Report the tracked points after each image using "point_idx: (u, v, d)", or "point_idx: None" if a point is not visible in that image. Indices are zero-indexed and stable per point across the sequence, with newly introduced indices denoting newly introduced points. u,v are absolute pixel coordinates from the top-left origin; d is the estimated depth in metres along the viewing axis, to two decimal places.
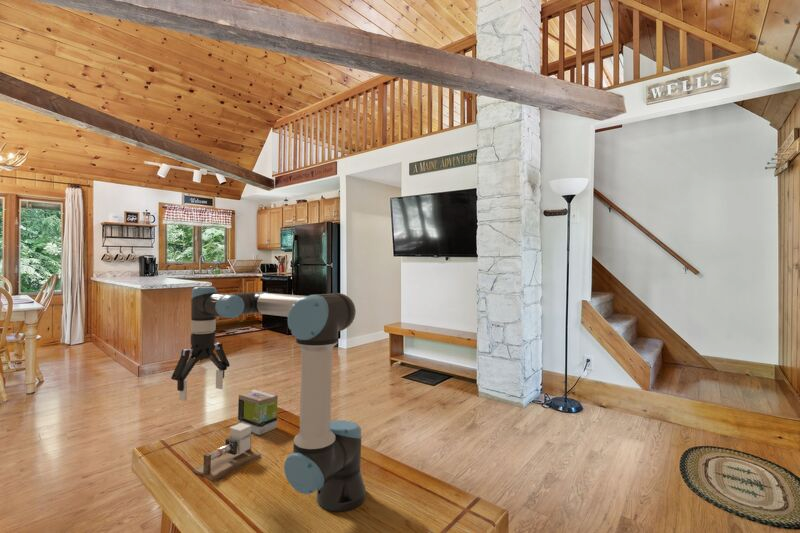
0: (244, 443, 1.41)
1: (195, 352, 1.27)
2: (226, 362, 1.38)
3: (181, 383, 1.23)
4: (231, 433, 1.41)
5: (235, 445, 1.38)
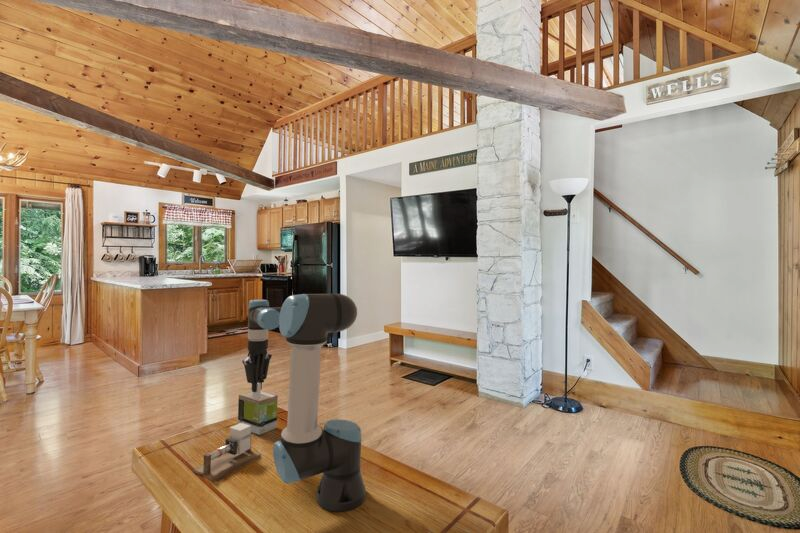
0: (244, 443, 1.41)
1: (253, 357, 1.46)
2: (265, 374, 1.52)
3: (255, 385, 1.48)
4: (231, 433, 1.41)
5: (235, 445, 1.38)
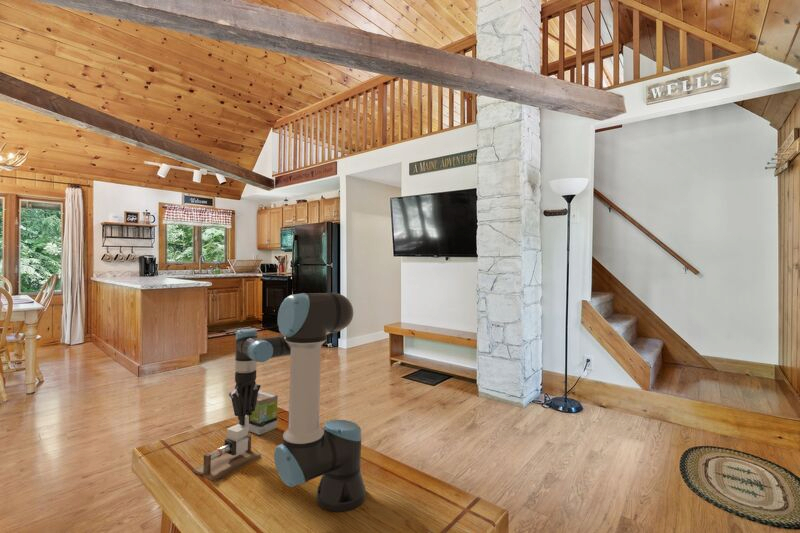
0: (241, 444, 1.40)
1: (240, 390, 1.41)
2: (253, 406, 1.47)
3: (242, 419, 1.43)
4: (228, 434, 1.40)
5: (234, 445, 1.38)
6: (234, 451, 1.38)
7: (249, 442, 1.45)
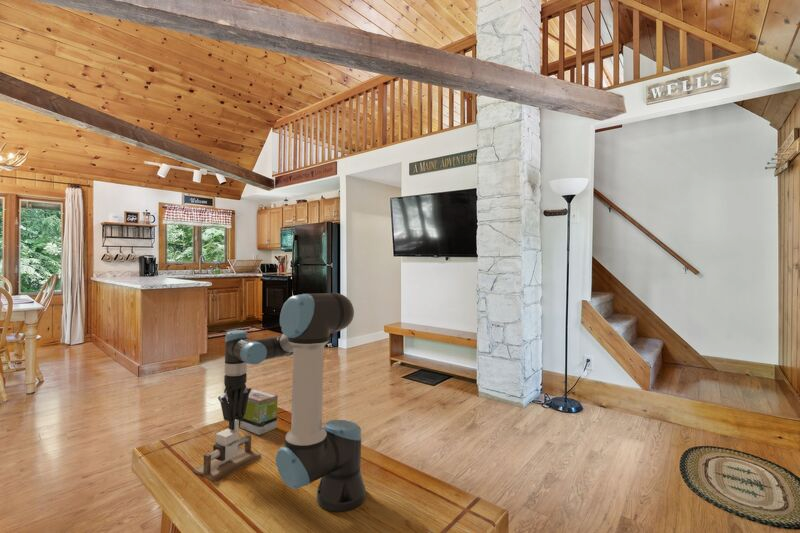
0: (230, 450, 1.36)
1: (230, 393, 1.37)
2: (244, 409, 1.43)
3: (232, 423, 1.39)
4: (217, 439, 1.36)
5: (223, 451, 1.33)
6: (223, 457, 1.34)
7: (249, 442, 1.45)
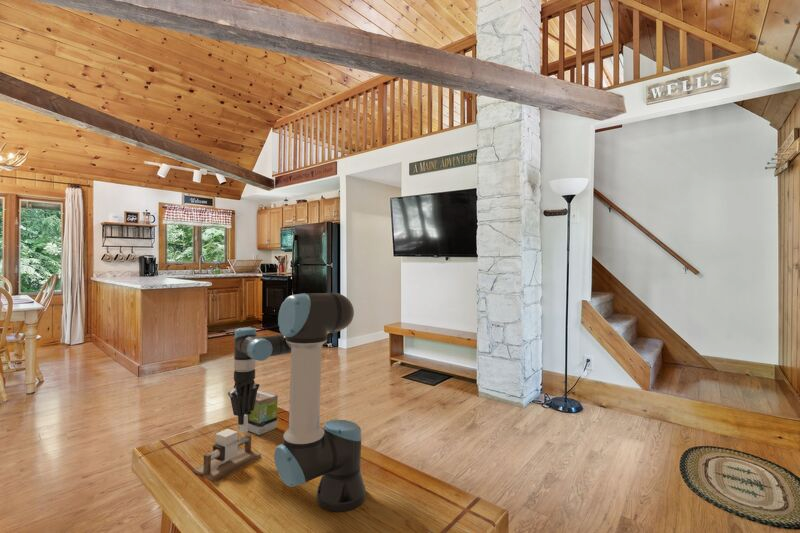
0: (230, 450, 1.36)
1: (239, 389, 1.41)
2: (252, 405, 1.46)
3: (241, 418, 1.42)
4: (217, 440, 1.36)
5: (223, 451, 1.33)
6: (223, 457, 1.33)
7: (249, 442, 1.45)
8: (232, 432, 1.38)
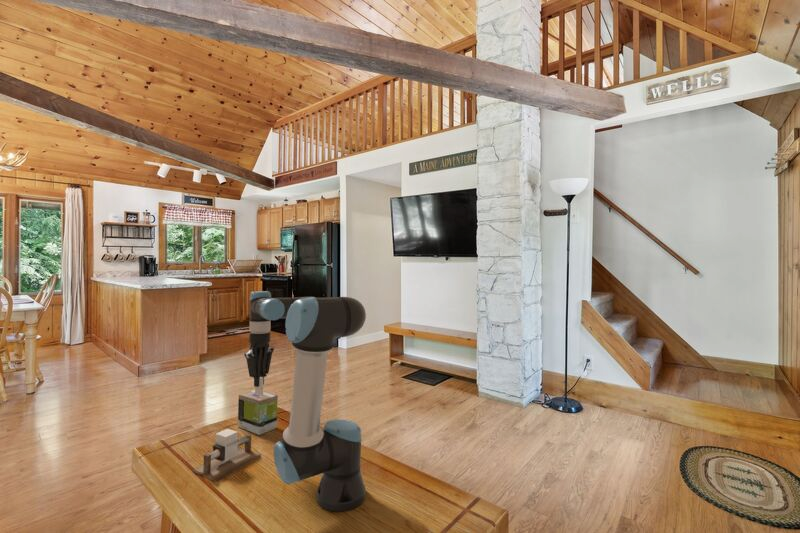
0: (230, 450, 1.36)
1: (255, 350, 1.41)
2: (267, 368, 1.47)
3: (257, 380, 1.43)
4: (217, 440, 1.36)
5: (223, 451, 1.33)
6: (223, 457, 1.33)
7: (249, 442, 1.45)
8: (232, 432, 1.38)
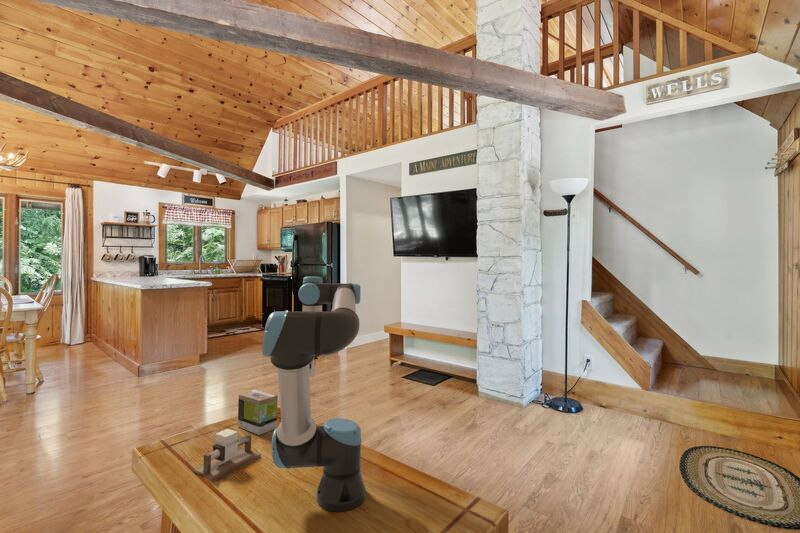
0: (230, 450, 1.36)
1: None
2: None
3: None
4: (217, 440, 1.36)
5: (223, 451, 1.33)
6: (223, 457, 1.33)
7: (249, 442, 1.45)
8: (232, 432, 1.38)
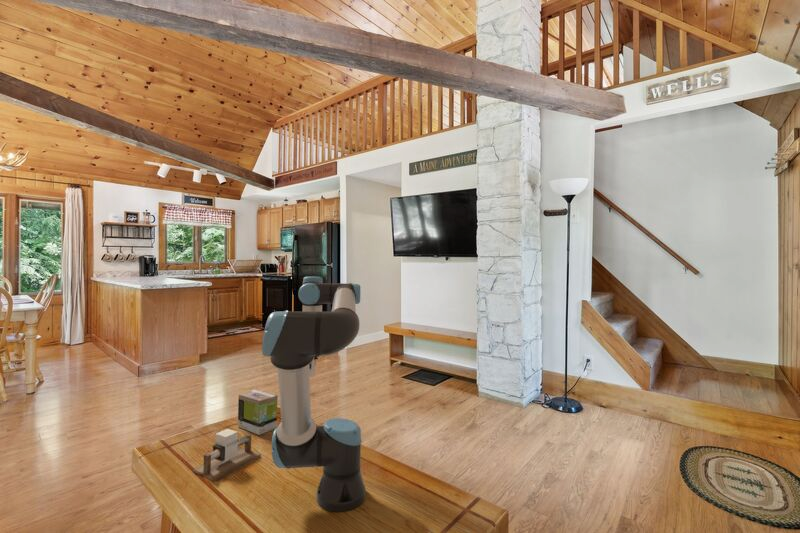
0: (230, 450, 1.36)
1: None
2: None
3: (309, 362, 1.47)
4: (217, 440, 1.36)
5: (223, 451, 1.33)
6: (223, 457, 1.33)
7: (249, 442, 1.45)
8: (232, 432, 1.38)
